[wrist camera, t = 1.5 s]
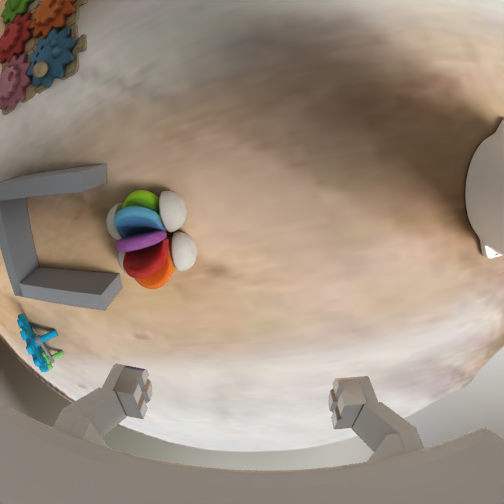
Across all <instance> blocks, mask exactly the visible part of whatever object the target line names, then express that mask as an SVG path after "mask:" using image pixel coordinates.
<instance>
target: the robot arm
mask: <svg viewBox="0 0 504 504" xmlns="http://www.w3.org/2000/svg"><path fill="white" fill-rule="evenodd" d="M465 197H466V209H467V214H468V218H469V221H470V223H471V226H472V228H473V229H474V231H475V232H476V234H477V235H478V237H479V239H480V244H481V250H482V254H483V256H485V257H487V258H489V259H491V258H495V257H498V256H504V120H502V121H501V123H500V125H499V127H498V128H497V130H496V132H495V133H494V134H493V135H491V136H489V137H488V138H486V139H485V140H484V141H483V142H482V143H481V144H480V145H479V147H478V148H477V150H476V152H475V153H474V156H473V158H472V160H471V163H470V166H469V170H468V174H467V180H466V192H465ZM148 376H149V374H148V371H147V370H146V369H141V368H136V367H131V366H125V365H121V364H115V365H114V366H113V368H112V369H111V371H110V373H109V375H108V377H107V379H106V381H105V383H104V385H103V387H102V388H98V389H96V390H94V391H93V392H91V393H89V394H88V395H86V396H84V397H82V398H81V399H79V400H77V401H76V402H74V403H72V404H70V405H69V406H67V407H65V408H63V410H62V412H61V413H60V415H59V417H58V419H57V421H56V423H55V424H54V426H53V428H52V427H50V426H47V425H45V424H43V423H41V422H38V421H36V420H34V419H32V418H30V417H28V416H26V415H24V414H22V413H20V412H18V411H16V410H14V409H12V408H11V407H9V406H7V405H5V404H3V403H1V402H0V504H504V438H502V437H501V436H499V435H498V434H496V433H494V432H493V431H491V430H489V429H486V428H479V429H477V430H474V431H472V432H469V433H467V434H464V435H462V436H459V437H456V438H454V439H451V440H448V441H445V442H442V443H439V444H437V445H433V446H430V447H427V448H424V447H423V444H422V442H421V439H420V437H419V434H418V432H417V429H416V428H415V427H414V426H413V425H411V424H410V423H409V422H407V421H406V420H404V419H403V418H402V417H400V416H399V415H398V414H396V413H395V412H394V411H392V410H391V409H390V408H388V407H387V406H386V405H384V404H383V403H382V402H378V400H377V398H376V395H375V392H374V390H373V387H372V384H371V382H370V379H369V377H368V376H363V377H350V378H336V379H335V380H334V382H333V389H332V390H331V391H330V394H329V409H330V411H332V412H333V415H332V417H331V419H332V423H333V428H334V429H343V428H352V430H353V431H354V432H355V433H356V434H357V435H358V436H359V437H360V438H361V439H362V440H363V441H364V442H365V443H366V444H367V445H368V446H369V447H370V448H371V449H372V450H373V451H374V454H373V455H372V456H371V457H370V458H369V460H368V461H367V462H363V463H358V464H350V465H343V466H336V467H327V468H317V469H304V470H303V469H302V470H279V471H278V470H271V471H270V470H269V471H266V470H263V471H262V470H234V469H220V468H209V467H199V466H192V465H185V464H179V463H172V462H166V461H161V460H156V459H151V458H147V457H142V456H138V455H134V454H130V453H126V452H122V451H118V450H115V449H111V448H108V447H107V445H106V444H105V442H104V441H103V440H102V437H103V436H104V435H106V434H107V433H108V432H109V431H110V430H111V429H113V428H114V427H115V426H116V425H118V424H119V423H120V422H121V421H122V420H123V419H125V418H126V416H130V417H135V418H140V419H144V416H145V414H146V411H147V406H146V403H147V402H149V401H150V399H151V396H152V384H151V381H150V380H148Z"/></svg>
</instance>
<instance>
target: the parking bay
mask: <svg viewBox="0 0 504 504" xmlns="http://www.w3.org/2000/svg"><path fill="white" fill-rule="evenodd" d="M104 183H107V171H106V164H102V165H93V166H84V167H76V168H68V169H61V170H54V171H48V172H41V173H35V174H30V175H24V176H19V177H14V178H11V179H8V180H5V181H2V182H0V247H1V251H2V254H3V258H4V262H5V265H6V269H7V272H8V276H9V279H10V282H11V285H12V288H13V291H14V294H15V295H16V296H21V297H26V298H31V299H36V300H42V301H47V302H53V303H58V304H64V305H70V306H77V307H83V308H90V309H97V310H104V311H105V310H106V309H107V307H108V306H109V305H110V304H111V302H112V301H113V300H114V298H115V297H116V296H117V294H118V293H119V292H120V291H121V289H122V284H121V279H120V274H116V273H103V272H90V271H78V270H66V269H55V268H45V267H40V266H39V263H38V259H37V255H36V250H35V246H34V242H33V237H32V232H31V227H30V222H29V216H28V210H27V203H26V197H35V196H45V195H56V194H68V193H81V192H85V191H87V190H90V189H92V188H94V187H97V186H99V185H102V184H104Z"/></svg>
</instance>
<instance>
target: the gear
mask: <svg viewBox="0 0 504 504" xmlns="http://www.w3.org/2000/svg"><path fill="white" fill-rule="evenodd" d="M17 322H18V325H19V327H20V328H22V330H23V331H21V332H20V334H21V337H22V339H23V340H26V343H27V346H26V349H27V351H28V353H29V354H30V355H31V354H32V357H33V361H34V364H35V365H36V366H37V367H38V366H39V368H40V371H41V372H47V371H49V370H50V369H52V368H53V367H52V365H51V363H53V362H54V359H55V358H57V357H60V356H62V355H64V353H63V351H60V352H58V353H56V354H53V355H51V353H50V352H49V350H48V348H47V347H46V345H45V343H44V342H45V341H47V340H49V339H51V338H53V337H55V336H58V335H57V332H56V330H53V331H51V332H49V333H47V334H44V335H42V336H40V335H38V336H36V334H34V333H33V329H32V326H31V324H30V323H28V320H27V318H26V316H23V314H20V315H18V320H17ZM39 346H40V347H39ZM41 346H42V348H43V349H44V351H45V352H46V354H47V356H46V354H45V352H44V351H43V350H42V348H41Z"/></svg>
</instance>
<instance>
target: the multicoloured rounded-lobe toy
mask: <svg viewBox="0 0 504 504" xmlns="http://www.w3.org/2000/svg"><path fill="white" fill-rule="evenodd" d="M186 217H187V209H186V204H185V202H184V200H183V198H182V197H181V196H180V195H178V194H177V193H175V192H172V191H163V192H162V193H161V195H160V198H159V197H157V196H156V195H155V194H153V193H151V192H149V191H146V190H137V191H134V192H132V193H131V194H129V195H128V197H127V198H126V199H125V201H124V203H118V204H116V205H115V206H114V207H112V209H111V210H110V211H109V213H108V215H107V220H106V225H107V229H108V231H109V233H110V234H111V236H112V237H113V238H115V239H116V240H117V241H116V243H115V248H116V250H117V251H119V253H118V262H119V265H120V267H121V269H122V270H123V271H124V272H125V273H126V274H128V275H129V276H131V277H133V278H135V280H136V281H137V282H138V283H139V284H140V285H141V286H143V287H145V288H148V289H157V288H159V287H161V286H163V285H164V284H165V283H166V282H167V281H168V280H169V279H170V277H171V274H172V273H173V272H174V271H175V269H177V270H178V271H180V272H181V271H185V270H187V269H189V268H190V267H191V266H192V265H193V264H194V262H195V260H196V257H197V249H196V244H195V242H194V240H193V239H192V238H191V237H190V236H189V235H188V234H186V233H183V232H175V233H174V234H173V236H172V238H170V237H167V233H166V230H167V231H168V232H174V231H176V230H178V229H179V228H180V227H181V226H182V225H183V223H184V222H185V220H186Z"/></svg>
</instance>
